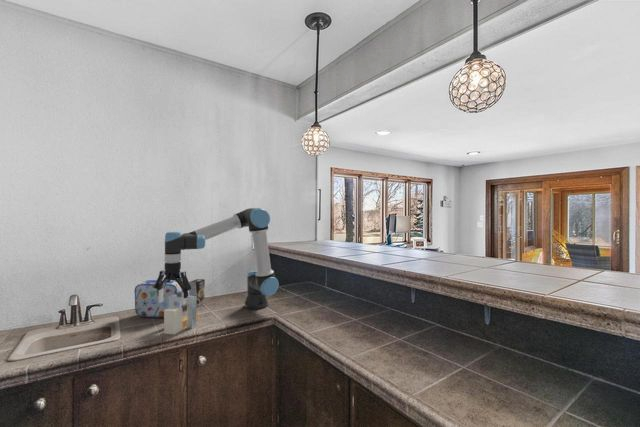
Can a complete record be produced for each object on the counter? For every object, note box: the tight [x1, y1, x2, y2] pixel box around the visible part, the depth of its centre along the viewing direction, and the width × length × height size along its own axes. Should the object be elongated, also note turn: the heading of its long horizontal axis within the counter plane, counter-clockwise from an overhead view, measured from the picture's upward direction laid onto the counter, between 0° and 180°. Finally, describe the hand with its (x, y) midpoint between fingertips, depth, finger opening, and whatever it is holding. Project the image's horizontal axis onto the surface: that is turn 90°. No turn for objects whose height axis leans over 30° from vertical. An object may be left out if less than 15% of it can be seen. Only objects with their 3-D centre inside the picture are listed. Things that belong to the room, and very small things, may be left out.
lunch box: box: [134, 279, 184, 319], centre depth 178 cm, size 28×10×22 cm, turn 89°
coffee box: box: [188, 278, 206, 308], centre depth 200 cm, size 9×6×16 cm
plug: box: [163, 306, 199, 335], centre depth 162 cm, size 21×6×12 cm, turn 167°
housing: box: [169, 291, 197, 330], centre depth 162 cm, size 14×4×18 cm, turn 78°
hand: (172, 303), depth 154 cm, fingers open, 13 cm apart
